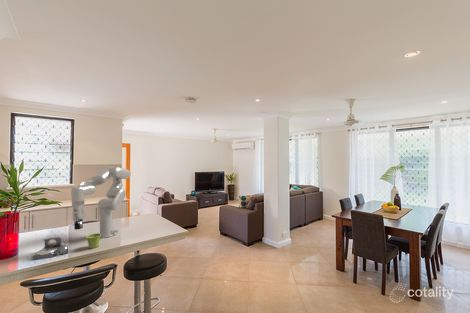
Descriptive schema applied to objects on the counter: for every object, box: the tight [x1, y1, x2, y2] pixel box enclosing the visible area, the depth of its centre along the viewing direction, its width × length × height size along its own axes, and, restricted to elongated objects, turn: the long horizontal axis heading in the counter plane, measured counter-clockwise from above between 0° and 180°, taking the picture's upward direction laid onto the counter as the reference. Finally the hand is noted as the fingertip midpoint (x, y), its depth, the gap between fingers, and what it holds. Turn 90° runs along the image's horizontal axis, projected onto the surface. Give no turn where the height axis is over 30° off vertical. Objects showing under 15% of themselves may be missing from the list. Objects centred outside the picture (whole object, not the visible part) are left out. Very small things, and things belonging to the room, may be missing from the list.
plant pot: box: [85, 232, 101, 250], centre depth 159 cm, size 9×9×9 cm
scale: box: [32, 236, 64, 261], centre depth 149 cm, size 16×11×8 cm
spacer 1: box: [58, 244, 69, 256], centre depth 149 cm, size 5×5×5 cm
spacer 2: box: [76, 220, 84, 231], centre depth 158 cm, size 5×5×5 cm
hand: (78, 227), depth 158 cm, fingers closed on spacer 2, 5 cm apart
